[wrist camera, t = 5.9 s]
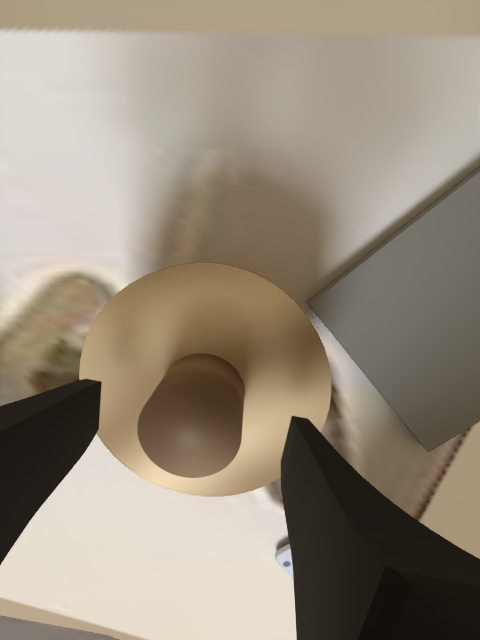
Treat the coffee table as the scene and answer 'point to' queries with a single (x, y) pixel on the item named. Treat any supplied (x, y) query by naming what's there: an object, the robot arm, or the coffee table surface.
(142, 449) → the lid
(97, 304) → the coffee table surface
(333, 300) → the mat
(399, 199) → the coffee table surface
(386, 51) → the coffee table surface
